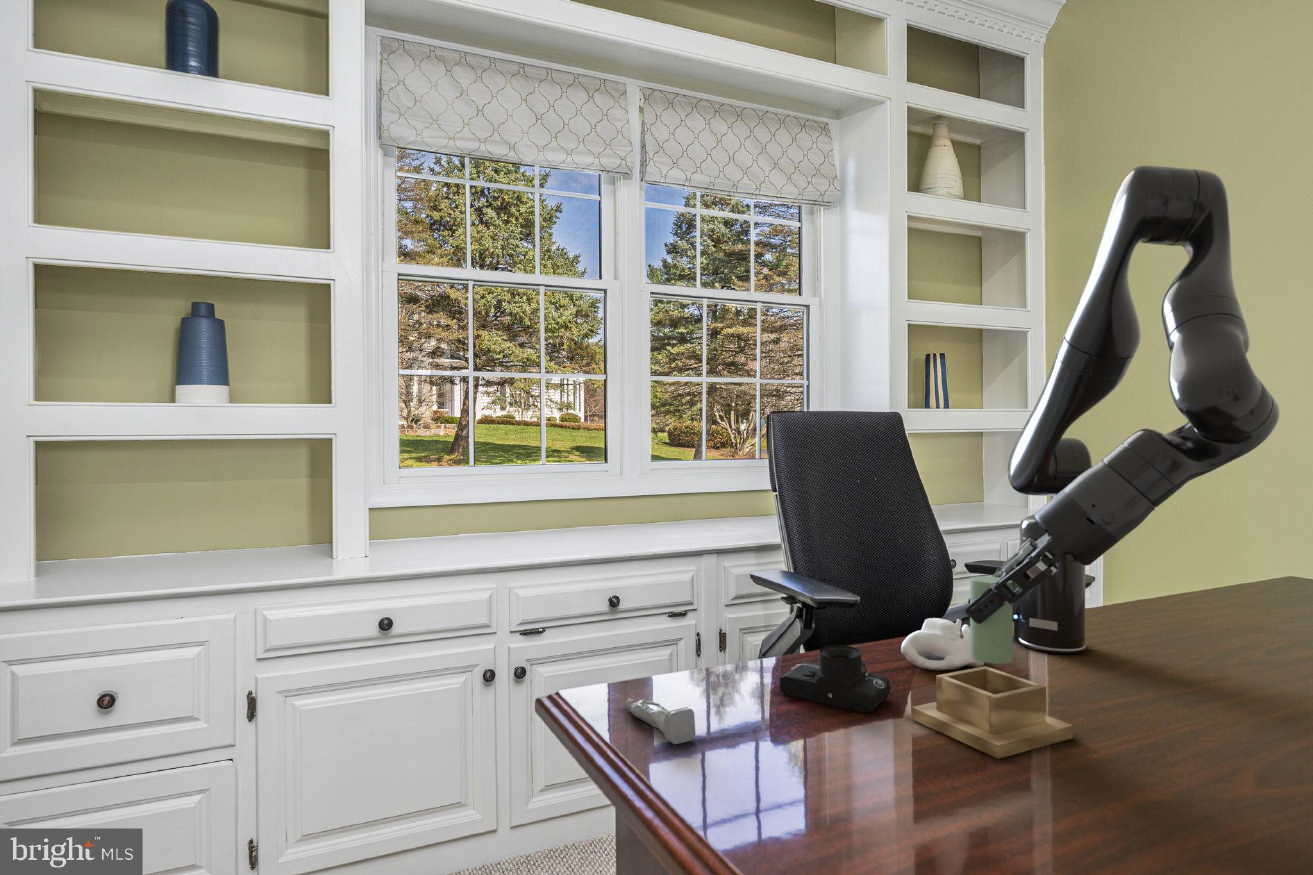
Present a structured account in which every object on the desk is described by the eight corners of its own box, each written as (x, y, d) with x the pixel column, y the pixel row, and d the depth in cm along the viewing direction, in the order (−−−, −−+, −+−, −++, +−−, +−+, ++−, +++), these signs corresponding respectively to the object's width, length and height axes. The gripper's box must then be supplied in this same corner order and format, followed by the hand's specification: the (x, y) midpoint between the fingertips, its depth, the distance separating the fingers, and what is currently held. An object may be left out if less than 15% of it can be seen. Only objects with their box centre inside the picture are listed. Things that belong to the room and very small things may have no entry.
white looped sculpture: (899, 672, 106) (889, 615, 111) (948, 689, 113) (937, 635, 117) (953, 656, 101) (940, 597, 106) (1001, 675, 107) (987, 619, 112)
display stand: (911, 719, 88) (911, 672, 88) (982, 703, 93) (983, 659, 93) (998, 759, 77) (998, 706, 77) (1073, 738, 83) (1073, 689, 83)
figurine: (671, 746, 80) (668, 713, 80) (618, 721, 90) (615, 692, 91) (697, 738, 82) (694, 706, 82) (642, 714, 92) (639, 686, 92)
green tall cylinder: (961, 655, 86) (961, 578, 86) (988, 651, 88) (988, 574, 88) (993, 666, 82) (993, 584, 82) (1021, 660, 84) (1021, 581, 84)
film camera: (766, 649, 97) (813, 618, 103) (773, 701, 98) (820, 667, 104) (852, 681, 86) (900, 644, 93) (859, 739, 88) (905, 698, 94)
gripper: (1061, 484, 88) (952, 577, 94) (1069, 491, 76) (942, 599, 81) (1113, 531, 86) (998, 624, 91) (1131, 547, 73) (995, 654, 78)
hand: (972, 612), depth 86 cm, fingers closed on green tall cylinder, 4 cm apart
